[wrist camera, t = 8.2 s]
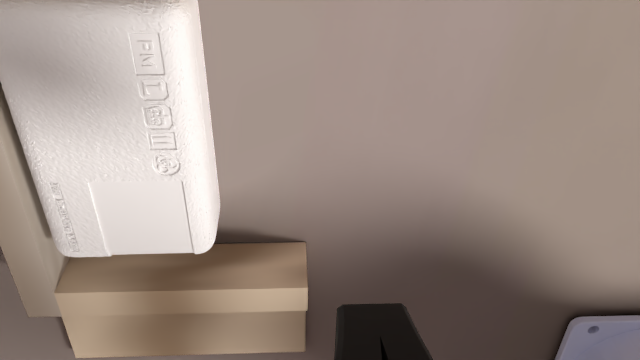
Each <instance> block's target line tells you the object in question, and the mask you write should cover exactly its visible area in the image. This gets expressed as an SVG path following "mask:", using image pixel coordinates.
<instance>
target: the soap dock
mask: <svg viewBox="0 0 640 360" xmlns="http://www.w3.org/2000/svg"><path fill="white" fill-rule="evenodd" d="M0 246H1V249H2V252H3V254H4V257H5V259H6V262H7V264H8V267H9V269H10V272H11V274H12V277H13V279H14V282H15V285H16V287H17V290H18V292H19V295H20V297H21V300H22V302H23V305H24V307H25V310H26V313H27V315H28V317H62V319H63V322H64V325H65V328H66V331H67V334H68V337H69V339H70V342H71V345H72V348H73V351H74V354H75V357H76V358H96V357H132V356H168V355H203V354H239V353H275V352H305V315H306V311H308V280H307V258H306V242H295V243H239V244H213V246H212V247H211V248H210V249H209V250H208V251H206V252H204V253H201V254H195V253H167V254H125V255H112V256H110V257H109V256H108V257H106V256H105V257H80V258H79V257H68V256H65V255H63V254H62V253H61V252H60V251H59V250H58V249H57V247H56V246H55V243H54V240H53V237H52V234H51V231H50V227H49V225H48V222H47V219H46V215H45V213H44V210H43V207H42V204H41V203H40V198H39V195H38V192H37V189H36V186H35V184H34V181H33V177H32V175H31V171H30V169H29V166H28V162H27V160H26V157H25V154H24V150H23V148H22V144H21V142H20V139H19V136H18V133H17V130H16V127H15V124H14V122H13V119H12V115H11V113H10V109H9V106H8V103H7V100H6V98H5V94H4V91H3V89H2V84H1V82H0Z"/></svg>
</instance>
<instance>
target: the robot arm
mask: <svg viewBox="0 0 640 360" xmlns="http://www.w3.org/2000/svg"><path fill="white" fill-rule="evenodd" d="M334 360H433V359H432V357H431V355H430V353H429V352H428V350H427V348H426V346H425V344H424V343H423V341H422V339H421V337H420V335H419V333H418V331H417V330H416V328H415V326H414V324H413V322H412V320H411V318H410V315H409V313H408V311H407V309H406V307H405V306H404V305H403V304H401V303H395V304H351V305H342V306H340V307H339V308H337V320H336V339H335V357H334ZM555 360H640V315H627V316H588V317H577V318H575V319H573V320H572V321H571V322H570V323H569V325H568V327H567V330H566V332H565V335H564V338H563V340H562V343H561V345H560V348H559V350H558V353H557V355H556V358H555Z"/></svg>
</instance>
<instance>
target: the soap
mask: <svg viewBox="0 0 640 360" xmlns="http://www.w3.org/2000/svg"><path fill="white" fill-rule="evenodd" d="M0 82H1V84H2V89H3V91H4V94H5V98H6V100H7V103H8V106H9V109H10V113H11V115H12V119H13V122H14V124H15V127H16V130H17V133H18V136H19V139H20V142H21V144H22V148H23V150H24V154H25V157H26V160H27V162H28V166H29V169H30V171H31V175H32V177H33V181H34V184H35V186H36V189H37V192H38V195H39V198H40V203H41V204H42V207H43V210H44V213H45V215H46V219H47V222H48V225H49V227H50V231H51V234H52V237H53V240H54V243H55V246H56V247H57V249H58V250H59V251H60V252H61V253H62V254H63V255H65V256H68V257H79V258H80V257H105V256H106V257H108V256H109V257H110V256H112V255H125V254H167V253H195V254H201V253H204V252H206V251H208V250H209V249H210V248H211V247H212V246H213V244H214V242H215V239H216V234H217V225H218V220H219V213H220V196H219V187H218V178H217V169H216V160H215V151H214V141H213V134H212V124H211V114H210V106H209V97H208V88H207V80H206V70H205V61H204V52H203V44H202V35H201V25H200V17H199V8H198V0H0Z"/></svg>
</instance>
